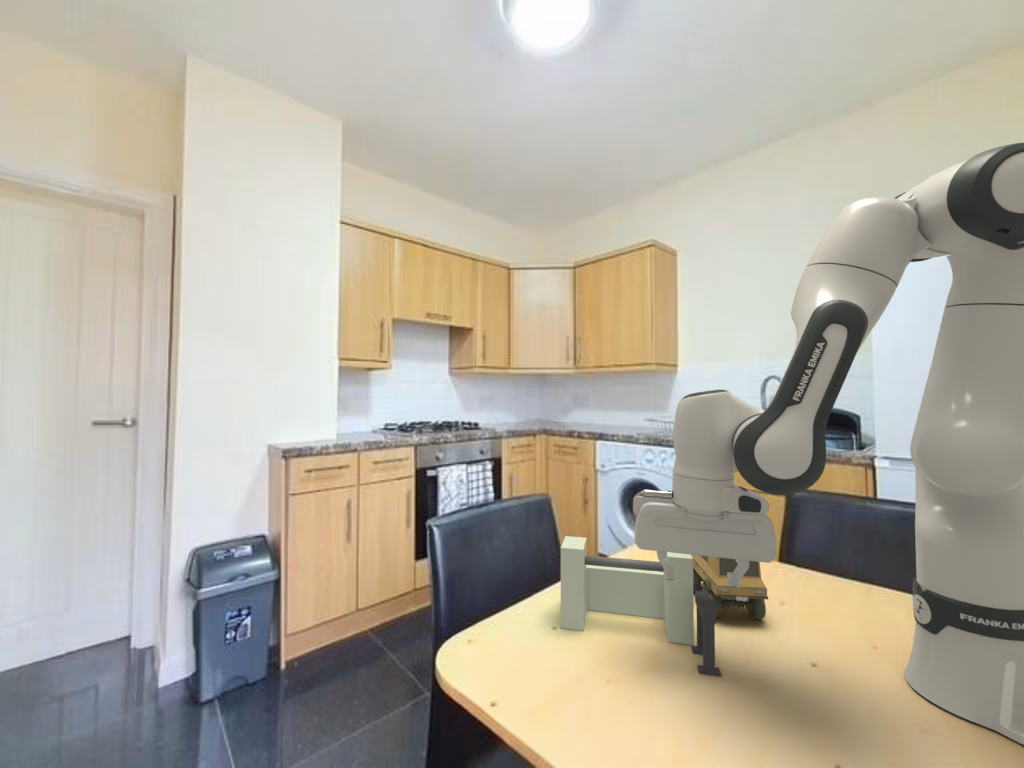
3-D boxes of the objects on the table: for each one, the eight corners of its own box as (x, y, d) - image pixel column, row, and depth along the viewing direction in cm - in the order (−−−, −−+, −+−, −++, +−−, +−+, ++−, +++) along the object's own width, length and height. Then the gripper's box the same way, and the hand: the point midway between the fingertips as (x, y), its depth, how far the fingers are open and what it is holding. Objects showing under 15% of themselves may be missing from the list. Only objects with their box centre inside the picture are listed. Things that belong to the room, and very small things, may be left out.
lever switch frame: (685, 616, 82) (684, 540, 83) (693, 645, 73) (692, 558, 73) (567, 602, 87) (567, 531, 88) (560, 628, 78) (560, 547, 78)
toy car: (730, 585, 97) (729, 516, 97) (773, 630, 78) (771, 544, 78) (681, 583, 98) (681, 514, 98) (712, 626, 79) (711, 541, 79)
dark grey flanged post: (711, 651, 71) (710, 592, 71) (721, 676, 64) (720, 611, 65) (691, 648, 72) (691, 590, 72) (699, 673, 65) (698, 609, 65)
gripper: (634, 492, 68) (632, 582, 68) (781, 503, 63) (780, 600, 63) (632, 484, 74) (630, 567, 74) (767, 494, 69) (765, 582, 69)
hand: (700, 582), depth 69 cm, fingers open, 8 cm apart
